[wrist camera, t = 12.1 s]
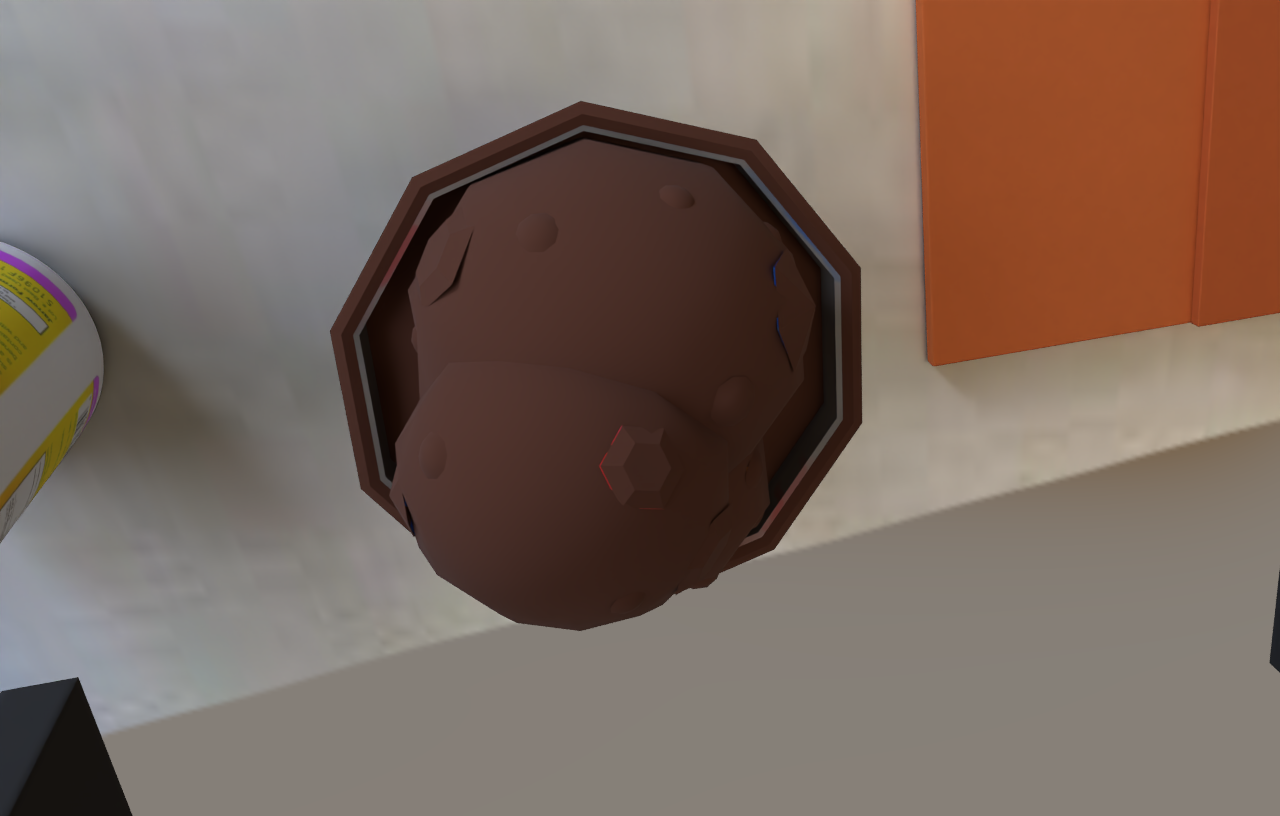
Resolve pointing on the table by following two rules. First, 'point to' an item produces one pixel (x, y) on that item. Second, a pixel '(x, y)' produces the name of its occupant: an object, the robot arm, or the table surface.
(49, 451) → the supplement bottle
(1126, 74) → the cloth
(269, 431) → the table surface
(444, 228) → the ice cream bowl
